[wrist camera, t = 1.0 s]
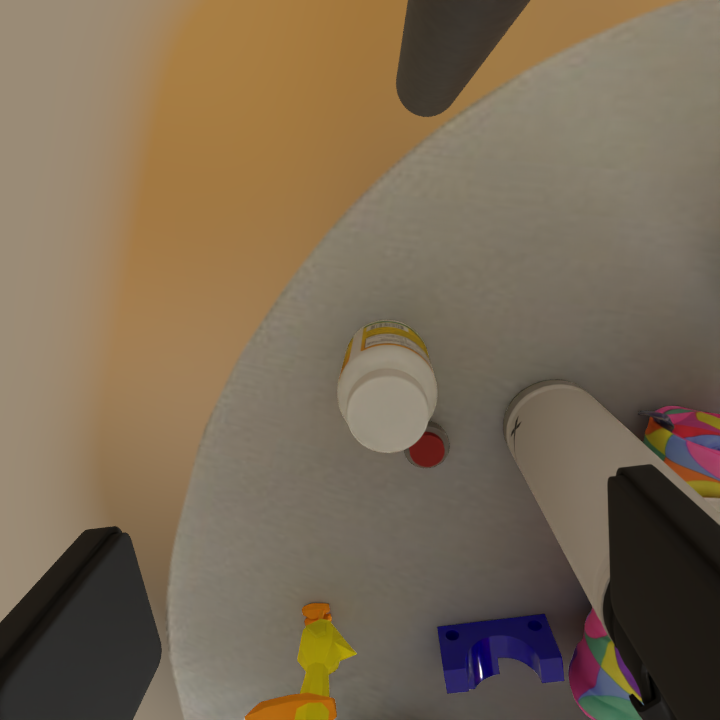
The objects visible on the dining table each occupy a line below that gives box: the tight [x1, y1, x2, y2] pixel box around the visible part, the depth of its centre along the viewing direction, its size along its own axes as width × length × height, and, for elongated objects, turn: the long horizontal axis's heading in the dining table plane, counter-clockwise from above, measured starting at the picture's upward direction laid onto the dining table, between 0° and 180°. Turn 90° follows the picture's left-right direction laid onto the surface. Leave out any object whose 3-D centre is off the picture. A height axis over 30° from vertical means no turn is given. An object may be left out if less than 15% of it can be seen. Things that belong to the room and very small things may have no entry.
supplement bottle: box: [337, 320, 438, 453], centre depth 30 cm, size 5×5×10 cm
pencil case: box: [568, 406, 720, 720], centre depth 34 cm, size 22×9×9 cm, turn 173°
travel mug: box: [503, 380, 720, 720], centre depth 26 cm, size 6×7×20 cm
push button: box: [404, 421, 450, 468], centre depth 36 cm, size 3×3×2 cm
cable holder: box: [437, 614, 564, 694], centre depth 39 cm, size 8×4×4 cm, turn 100°
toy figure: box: [245, 603, 357, 720], centre depth 35 cm, size 7×4×12 cm, turn 101°
